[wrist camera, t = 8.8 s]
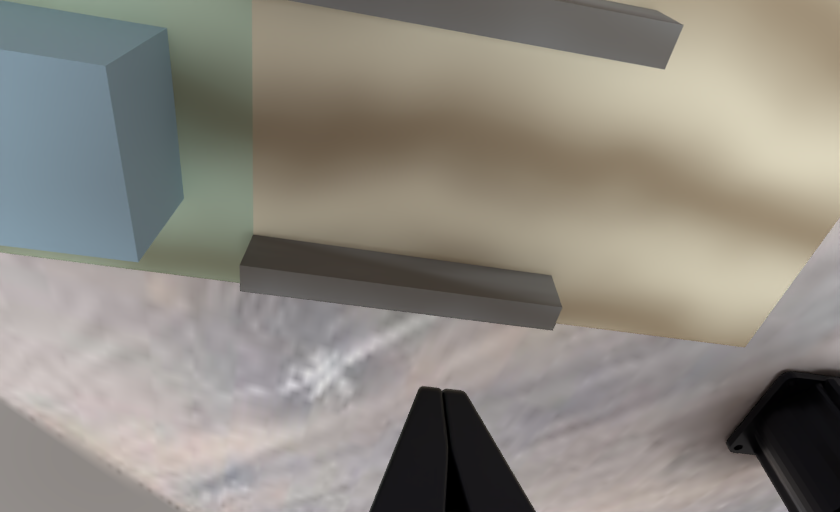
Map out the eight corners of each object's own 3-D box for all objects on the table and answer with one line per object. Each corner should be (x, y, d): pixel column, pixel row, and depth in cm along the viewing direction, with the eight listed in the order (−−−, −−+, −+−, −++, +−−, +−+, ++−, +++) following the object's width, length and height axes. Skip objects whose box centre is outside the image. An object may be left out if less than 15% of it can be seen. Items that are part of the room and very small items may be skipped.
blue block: (183, 198, 20) (138, 262, 17) (11, 175, 19) (-72, 236, 16) (167, 28, 16) (105, 65, 13) (-45, -8, 16) (-165, 23, 12)
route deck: (724, 317, 26) (768, 381, 23) (-239, 189, 22) (-355, 245, 18) (928, 11, 18) (1041, 41, 15) (-528, -291, 14) (-823, -343, 10)
